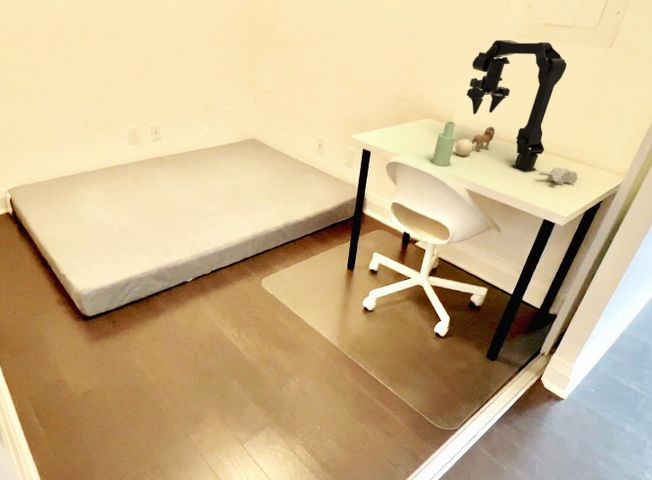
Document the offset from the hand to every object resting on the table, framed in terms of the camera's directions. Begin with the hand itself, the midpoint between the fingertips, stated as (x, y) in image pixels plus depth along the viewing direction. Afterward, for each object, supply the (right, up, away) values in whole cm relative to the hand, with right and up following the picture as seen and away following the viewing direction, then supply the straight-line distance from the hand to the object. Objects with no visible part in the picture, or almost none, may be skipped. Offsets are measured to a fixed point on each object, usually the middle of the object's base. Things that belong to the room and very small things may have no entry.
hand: (482, 113), depth 187 cm
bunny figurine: (+18, -35, -23) cm, 46 cm away
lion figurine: (+1, -14, +6) cm, 15 cm away
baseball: (-10, -19, -2) cm, 21 cm away
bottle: (-22, -24, -11) cm, 34 cm away
